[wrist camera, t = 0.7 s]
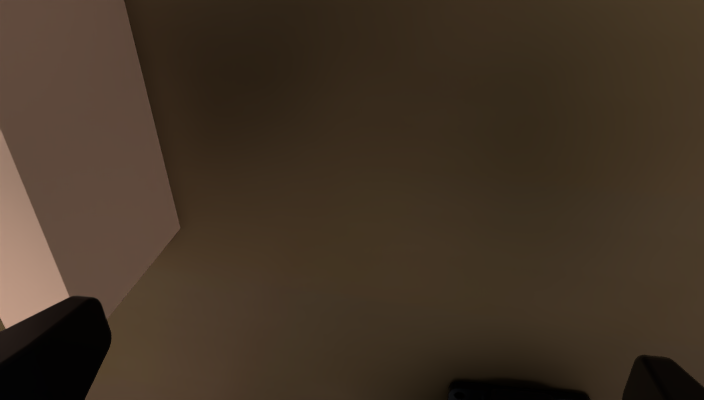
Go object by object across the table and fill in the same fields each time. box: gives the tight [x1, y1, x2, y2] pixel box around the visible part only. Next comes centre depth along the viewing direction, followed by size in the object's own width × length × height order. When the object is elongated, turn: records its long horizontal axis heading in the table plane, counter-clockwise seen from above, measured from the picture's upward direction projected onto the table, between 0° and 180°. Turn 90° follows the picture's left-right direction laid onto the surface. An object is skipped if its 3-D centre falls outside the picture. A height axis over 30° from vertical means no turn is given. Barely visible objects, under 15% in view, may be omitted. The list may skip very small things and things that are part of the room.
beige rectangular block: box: [0, 0, 180, 329], centre depth 17 cm, size 12×3×7 cm, turn 2°
